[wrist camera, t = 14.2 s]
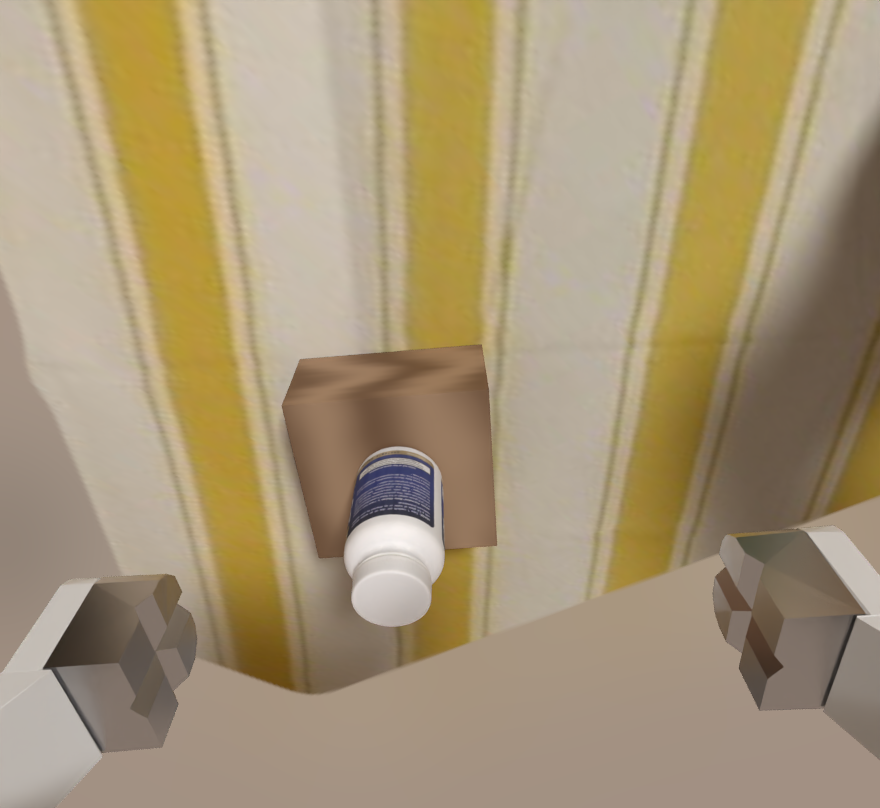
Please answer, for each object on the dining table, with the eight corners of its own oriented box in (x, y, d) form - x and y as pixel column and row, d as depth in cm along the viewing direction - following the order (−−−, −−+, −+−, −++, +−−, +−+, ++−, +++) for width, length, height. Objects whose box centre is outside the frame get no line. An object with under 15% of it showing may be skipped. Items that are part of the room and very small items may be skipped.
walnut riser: (481, 344, 42) (488, 389, 37) (489, 489, 48) (497, 545, 43) (300, 359, 42) (281, 405, 37) (331, 501, 48) (319, 558, 43)
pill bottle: (339, 465, 39) (314, 585, 31) (415, 429, 38) (411, 544, 30) (384, 524, 42) (373, 650, 33) (457, 492, 41) (464, 615, 32)
